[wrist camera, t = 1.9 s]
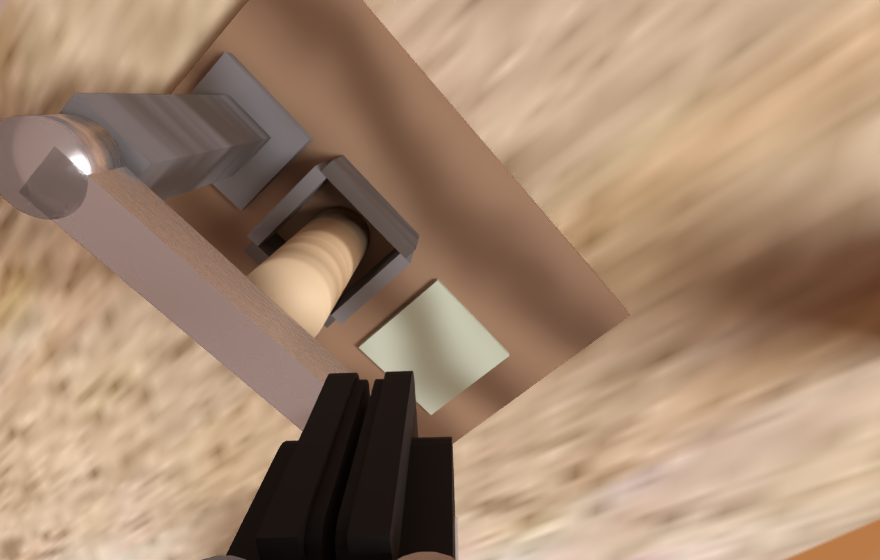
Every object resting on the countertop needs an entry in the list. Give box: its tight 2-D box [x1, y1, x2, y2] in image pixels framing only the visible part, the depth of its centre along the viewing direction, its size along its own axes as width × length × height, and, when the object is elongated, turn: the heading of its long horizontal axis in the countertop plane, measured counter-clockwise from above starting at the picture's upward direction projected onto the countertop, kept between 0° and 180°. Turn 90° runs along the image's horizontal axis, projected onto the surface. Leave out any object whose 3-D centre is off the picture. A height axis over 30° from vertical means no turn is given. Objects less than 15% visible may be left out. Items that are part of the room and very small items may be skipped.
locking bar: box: [0, 114, 372, 431], centre depth 16 cm, size 16×3×3 cm, turn 42°
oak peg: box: [246, 206, 370, 338], centre depth 25 cm, size 4×4×11 cm
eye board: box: [60, 0, 630, 444], centre depth 25 cm, size 20×28×14 cm
